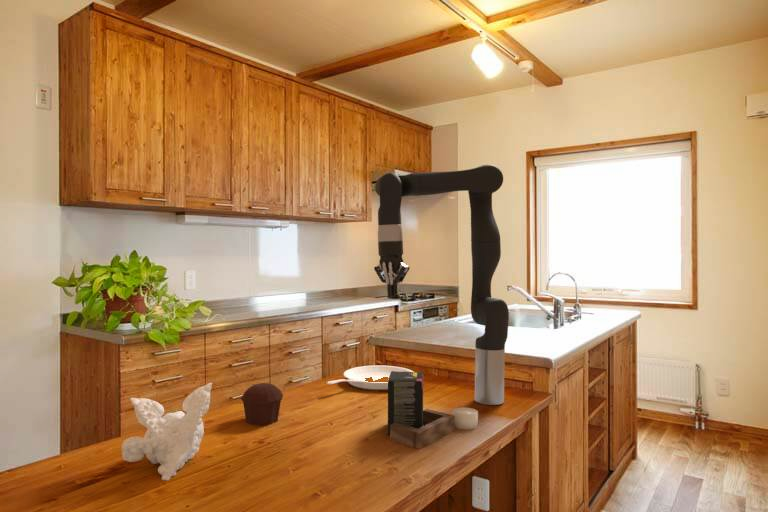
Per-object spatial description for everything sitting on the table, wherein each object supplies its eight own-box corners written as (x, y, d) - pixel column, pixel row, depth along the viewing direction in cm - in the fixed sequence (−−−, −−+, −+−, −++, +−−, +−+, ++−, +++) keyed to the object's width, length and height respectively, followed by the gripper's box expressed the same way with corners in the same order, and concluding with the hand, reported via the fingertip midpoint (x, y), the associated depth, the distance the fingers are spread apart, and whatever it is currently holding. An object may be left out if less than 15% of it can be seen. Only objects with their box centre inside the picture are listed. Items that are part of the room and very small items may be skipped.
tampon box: (422, 437, 134) (423, 381, 134) (386, 436, 135) (387, 379, 134) (423, 423, 145) (423, 371, 144) (389, 422, 145) (390, 370, 145)
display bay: (426, 423, 145) (426, 408, 145) (454, 430, 139) (455, 415, 139) (390, 440, 131) (390, 424, 131) (419, 449, 126) (419, 432, 126)
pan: (430, 382, 190) (430, 369, 190) (356, 405, 161) (356, 390, 161) (377, 371, 208) (377, 359, 207) (301, 389, 179) (301, 375, 179)
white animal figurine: (209, 400, 133) (212, 374, 117) (216, 482, 124) (220, 466, 108) (128, 412, 126) (119, 386, 110) (128, 500, 117) (119, 486, 101)
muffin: (269, 411, 154) (269, 377, 154) (291, 420, 146) (291, 384, 146) (232, 420, 146) (233, 384, 145) (253, 430, 138) (254, 392, 137)
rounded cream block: (460, 419, 149) (460, 405, 149) (482, 425, 144) (482, 410, 144) (447, 426, 143) (447, 411, 143) (470, 431, 139) (470, 416, 139)
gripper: (415, 239, 156) (417, 296, 157) (382, 240, 165) (384, 295, 166) (398, 239, 151) (401, 299, 151) (366, 241, 160) (368, 297, 160)
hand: (392, 296), depth 158 cm, fingers closed
